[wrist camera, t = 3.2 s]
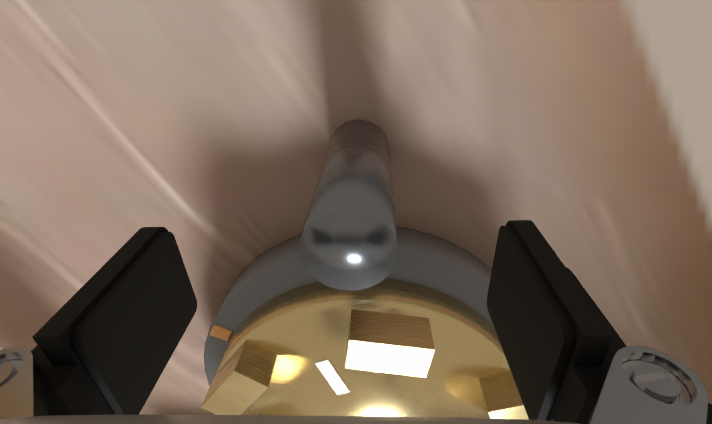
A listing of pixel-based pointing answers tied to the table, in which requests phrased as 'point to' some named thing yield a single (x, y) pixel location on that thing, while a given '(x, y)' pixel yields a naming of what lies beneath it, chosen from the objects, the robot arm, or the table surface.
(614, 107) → the table surface
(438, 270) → the grey round plate
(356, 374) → the brass lugged disc
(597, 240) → the table surface
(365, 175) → the pin
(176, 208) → the table surface
